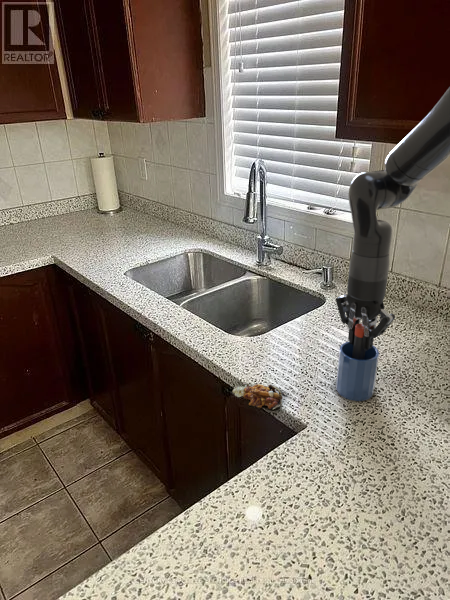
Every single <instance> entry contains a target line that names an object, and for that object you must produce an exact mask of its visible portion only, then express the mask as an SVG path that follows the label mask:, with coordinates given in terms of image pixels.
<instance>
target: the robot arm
mask: <svg viewBox="0 0 450 600" xmlns="http://www.w3.org/2000/svg"><path fill="white" fill-rule="evenodd" d="M449 157H450V86H449V87H448V88H447V89H446V91H445V92H444V94H443V95H442V96H441V97H440V98H439V100H438V101H437V103H436V104H435V105H434V106H433V108H432V109H431V110H430V111H429V112H428V113H427V114H426V115H425V116H424V117H423V118H422V120H421V121H420V122H419V123H418V124H417V125H415V127H414V128H413V129H412V130H411V131H410V132H408V134H406V136H405V137H404V138H402V140H401V141H399V143H397V145H396V146H394V148H393V149H392V150H391V151H390V152H389V154H388V155H387V156H386V158H385V161H384V169H382V170H381V169H380V170H373V171H366V172H361V173H359V174H357V175H356V176H355V177H353V179H352V181H351V183H350V185H349V188H348V193H347V194H348V195H347V196H348V204H349V209H350V214H351V221H352V227H353V238H352V239H353V241H352V248H351V249H352V251H351V254H350V259H349V266H348V267H349V268H348V277H347V288H346V292H347V293H346V294H342V295H339V296H338V297H336V298H335V302H336V307H337V310H338V313H339V317H340V321H341V323H342V324H343V325H344V324H345V325H347V329H348V337H347V339H348V342H349V344H351V345H354V336H355V326H356V324H362V326H364V336H363V342H362V350H363V351H367V350H369V349H370V348H372V346H374V339H376V338H378V337H381V335H383V334H384V333H385V332H386V331H387V329H388V328H389V327H390V326H391V325H392V323H393V322H394V320H396V316H395V314H394V313H388V312H387V310H386V309H385V304H384V299H385V297H386V292H387V285H388V277H389V272H390V271H389V270H390V253H391V245H392V239H393V227H392V225H391V224H390V223H389V222H388V221H385V220H382V219H378V216H377V215H378V214H377V211H379V210H385V209H391V208H395V207H397V206H399V205H401V204H402V203H404V202H405V201H406V200H407V199H408V198H409V197H410V196H411V195H412V193H413V192H414V191H415V190H416V188H417V187H418V185H419V184H420V181H422V180H424V178H425V177H427V176H428V175H429V174H431V173H432V172H433V171H435V170H436V169H437V168H438V167H439V166H441V165H442V164H443V163H444V162H445V161H446V160H447V159H448V158H449ZM378 316H379V319H378ZM377 323H378V324H377Z"/></svg>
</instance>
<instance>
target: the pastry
mask: <svg viewBox="0 0 450 600" xmlns="http://www.w3.org/2000/svg"><path fill="white" fill-rule="evenodd" d="M232 394H234V396H235V397H237V398H241V397H243V398H244V399H246V400H249V402H248V406H253V407H255V408H260V409H262V407H263V406H267V408H268V409H269V410H275V409H277V408H280V406H281V405H283V397H286V396H287V394H286V393H285V392H284V390H283V389H282V388H279V387H278V386H275V385H274V384H267V386H265V385H263V384H259V383H258V384H254V385H253V386H251V385H250V384H249V383H245V382H243V383H242V385H240V384H238V385H237V386H235V387H234V388H233V389H232Z"/></svg>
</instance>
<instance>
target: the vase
mask: <svg viewBox="0 0 450 600" xmlns="http://www.w3.org/2000/svg"><path fill="white" fill-rule="evenodd" d="M338 349H339V351H338V362H337V372H336V381H335V389H336V391H337V393H338V394H339V396H340V397H342V398H344V399H346V400H350V401H354V402H363V401H367V400H370V399H371V398H372V397H373V396H374V392H375V387H376V378H377V371H378V366H379V365H378V363H379V357H380V352H379V349H378V348H377V347H376V346H375V345H373V346H372V348H370V349H369V350H367V351H365V358H364V360H357V359H353V358H352V354H353V345H351V344H349V341H346V342H344V343H341V345H340V346H339V348H338Z"/></svg>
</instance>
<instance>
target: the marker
mask: <svg viewBox="0 0 450 600" xmlns="http://www.w3.org/2000/svg"><path fill="white" fill-rule="evenodd" d="M363 336H364V326H362V323H360V324H356V326H355V336H354V345H353V354H352V358H353V359H357V360H364V358H365V351H363V350H362V342H363Z"/></svg>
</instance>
